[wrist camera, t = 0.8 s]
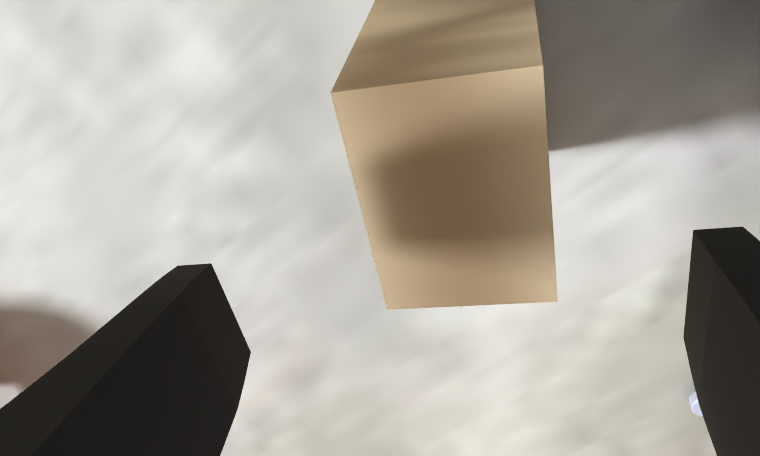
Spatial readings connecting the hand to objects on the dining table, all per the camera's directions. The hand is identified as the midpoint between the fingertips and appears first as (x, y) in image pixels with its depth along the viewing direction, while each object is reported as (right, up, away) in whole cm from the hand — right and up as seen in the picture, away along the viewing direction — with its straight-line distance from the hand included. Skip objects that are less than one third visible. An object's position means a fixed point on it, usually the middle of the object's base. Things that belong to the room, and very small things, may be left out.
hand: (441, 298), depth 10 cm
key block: (+1, +5, +7) cm, 9 cm away
